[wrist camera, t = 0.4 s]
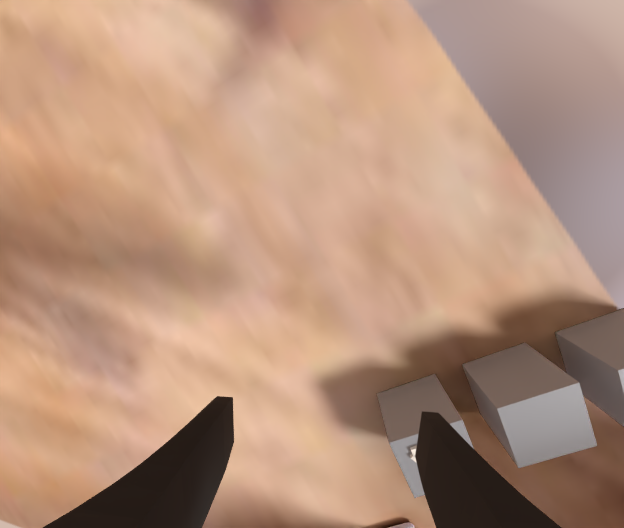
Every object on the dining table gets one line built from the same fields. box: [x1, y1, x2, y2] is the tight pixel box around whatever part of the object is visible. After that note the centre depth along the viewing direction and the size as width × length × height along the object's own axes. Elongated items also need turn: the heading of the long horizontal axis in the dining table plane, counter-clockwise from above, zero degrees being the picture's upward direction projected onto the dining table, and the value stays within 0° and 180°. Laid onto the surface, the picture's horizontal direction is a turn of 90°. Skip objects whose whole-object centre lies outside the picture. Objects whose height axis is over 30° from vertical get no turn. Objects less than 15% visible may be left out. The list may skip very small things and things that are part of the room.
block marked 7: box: [377, 374, 474, 498], centre depth 19 cm, size 4×4×5 cm
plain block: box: [462, 343, 597, 468], centre depth 19 cm, size 4×4×4 cm
